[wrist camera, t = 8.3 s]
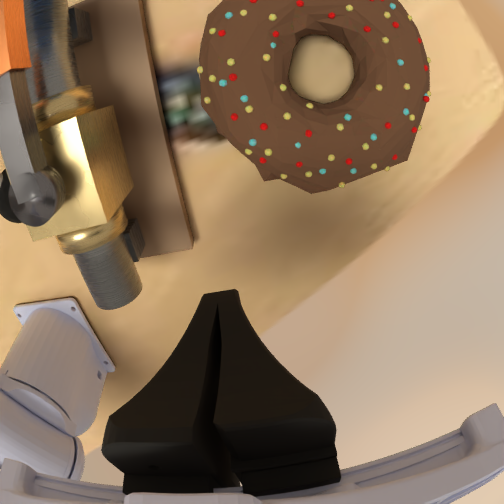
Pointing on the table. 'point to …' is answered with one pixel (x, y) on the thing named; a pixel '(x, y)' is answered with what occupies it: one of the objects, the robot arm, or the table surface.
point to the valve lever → (23, 127)
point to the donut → (305, 111)
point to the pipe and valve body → (81, 157)
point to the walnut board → (135, 119)
